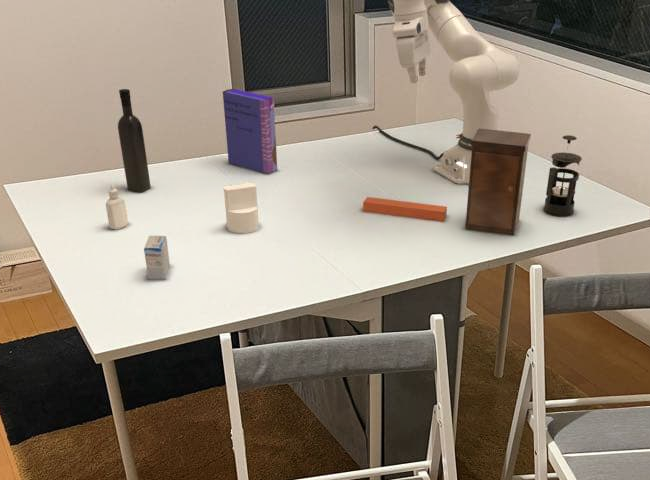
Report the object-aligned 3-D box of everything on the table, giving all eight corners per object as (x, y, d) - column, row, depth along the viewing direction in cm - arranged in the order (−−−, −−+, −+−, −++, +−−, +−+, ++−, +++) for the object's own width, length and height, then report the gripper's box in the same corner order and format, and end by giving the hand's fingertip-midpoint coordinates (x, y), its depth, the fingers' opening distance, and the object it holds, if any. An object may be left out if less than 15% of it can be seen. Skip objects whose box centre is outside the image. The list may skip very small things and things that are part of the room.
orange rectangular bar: (363, 211, 249) (363, 201, 248) (367, 206, 253) (367, 196, 251) (443, 221, 245) (444, 211, 243) (446, 216, 248) (447, 206, 247)
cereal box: (277, 170, 277) (273, 97, 263) (268, 174, 273) (263, 100, 260) (238, 160, 284) (232, 88, 270) (228, 163, 281) (222, 90, 267)
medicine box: (153, 266, 214) (148, 235, 209) (170, 266, 214) (166, 235, 209) (148, 280, 207) (143, 248, 202) (166, 279, 208) (161, 248, 203)
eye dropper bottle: (131, 227, 234) (124, 186, 227) (111, 230, 231) (104, 189, 225) (126, 221, 237) (119, 181, 230) (107, 225, 234) (99, 184, 228)
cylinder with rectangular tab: (232, 235, 232) (229, 194, 225) (223, 223, 238) (219, 183, 231) (263, 230, 235) (260, 189, 228) (252, 219, 242) (249, 179, 235)
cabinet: (463, 230, 240) (470, 141, 225) (471, 214, 250) (478, 128, 235) (514, 237, 237) (525, 147, 222) (520, 220, 247) (530, 133, 232)
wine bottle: (126, 190, 257) (110, 91, 240) (137, 184, 262) (122, 86, 245) (141, 193, 256) (126, 93, 239) (152, 187, 260) (138, 89, 243)
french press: (581, 215, 252) (593, 140, 239) (555, 219, 249) (567, 143, 236) (559, 202, 261) (570, 128, 248) (534, 205, 258) (544, 131, 245)
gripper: (410, 20, 229) (416, 72, 236) (390, 32, 212) (398, 87, 219) (432, 17, 227) (438, 70, 234) (414, 29, 210) (420, 85, 217)
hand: (418, 79), depth 227 cm, fingers open, 8 cm apart
